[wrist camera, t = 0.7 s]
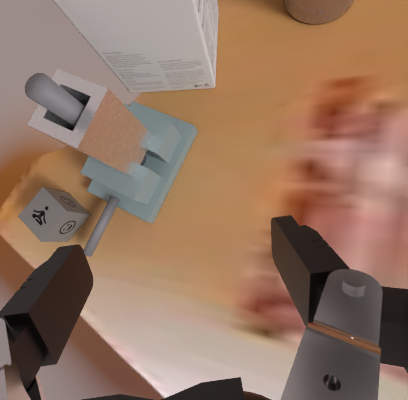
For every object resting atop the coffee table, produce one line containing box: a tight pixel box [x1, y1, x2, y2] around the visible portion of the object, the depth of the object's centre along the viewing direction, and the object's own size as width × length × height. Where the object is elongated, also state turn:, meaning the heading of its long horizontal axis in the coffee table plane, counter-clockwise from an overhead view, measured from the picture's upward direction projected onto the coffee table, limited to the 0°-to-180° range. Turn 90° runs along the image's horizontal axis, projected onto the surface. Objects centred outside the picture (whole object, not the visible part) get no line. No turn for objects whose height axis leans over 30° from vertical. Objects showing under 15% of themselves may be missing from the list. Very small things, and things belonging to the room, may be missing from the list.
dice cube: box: [18, 187, 90, 242], centre depth 36 cm, size 5×5×5 cm
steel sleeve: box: [28, 69, 154, 178], centre depth 26 cm, size 5×5×10 cm
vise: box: [25, 73, 198, 256], centre depth 27 cm, size 21×10×19 cm, turn 154°
